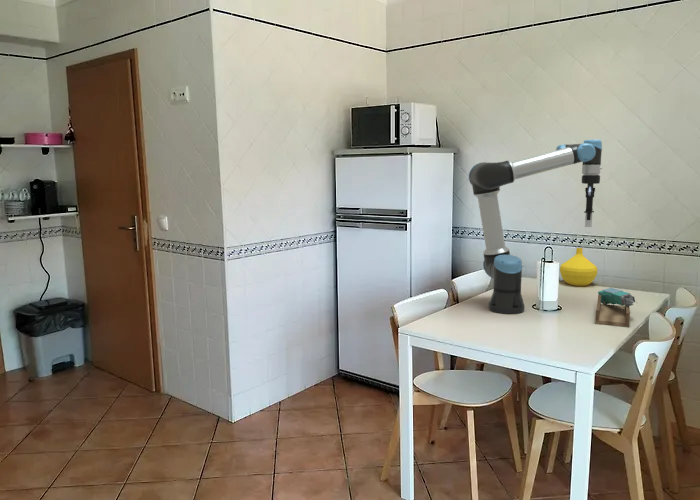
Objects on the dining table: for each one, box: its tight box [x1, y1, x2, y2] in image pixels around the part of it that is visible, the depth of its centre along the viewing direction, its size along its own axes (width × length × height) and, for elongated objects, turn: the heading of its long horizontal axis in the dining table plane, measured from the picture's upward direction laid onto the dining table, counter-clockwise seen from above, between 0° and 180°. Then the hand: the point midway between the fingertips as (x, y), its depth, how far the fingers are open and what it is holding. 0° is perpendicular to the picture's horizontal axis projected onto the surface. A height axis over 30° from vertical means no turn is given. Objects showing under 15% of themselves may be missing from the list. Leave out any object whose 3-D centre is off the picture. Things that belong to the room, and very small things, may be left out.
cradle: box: [594, 294, 631, 328], centre depth 228 cm, size 12×28×6 cm, turn 154°
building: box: [597, 287, 638, 307], centre depth 229 cm, size 6×6×30 cm
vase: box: [559, 247, 599, 287], centre depth 287 cm, size 18×18×19 cm
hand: (588, 226), depth 249 cm, fingers closed
